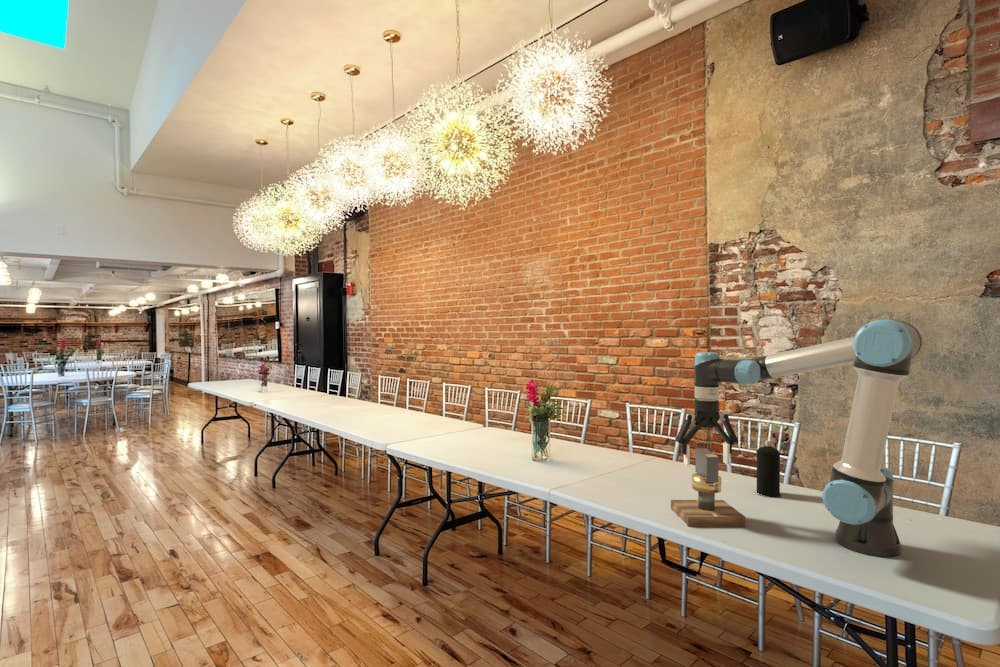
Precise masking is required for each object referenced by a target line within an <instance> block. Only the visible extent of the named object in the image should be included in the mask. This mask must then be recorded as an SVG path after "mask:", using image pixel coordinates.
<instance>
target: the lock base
mask: <svg viewBox="0 0 1000 667" xmlns="http://www.w3.org/2000/svg"><path fill="white" fill-rule="evenodd" d="M697 492H698V494H697V495H698V496H697V497H698V498H696V499H670V509H671V510H672V511H673V513H674V514H675V515H676V516H677V517H678V518H679V517H680V518H681V519H682V520H683V521H684V522H685V523H686V524H687V525H686V524H685V523H684V522H683V523H684V524H685V525H686V526H687V527H746V520H747V519H746V517H747V516H745V515H744V514H743V513H741V512H740V511H739V510H737V509H736V508H734V507H733V506H732V505H730V503H728V502H726V501H725V500H724V499H715V498H716V496H715V494H716V493H704V492H699V491H697ZM680 518H679V519H680ZM681 519H680V520H681ZM682 520H681V521H682Z"/></svg>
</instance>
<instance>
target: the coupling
mask: <svg viewBox="0 0 1000 667" xmlns="http://www.w3.org/2000/svg"><path fill="white" fill-rule="evenodd" d="M694 472H695V473H693V474H692V475H691V488H692V490H693V491H696V492H698V491H699V492H704V493H715V494H718V493H721V492H722V477H721V475H720V476H719V456H718V455H717V454H715V453H713V451H711V450H710V449H708V448H707V447H706V448H704V447H703V448H702V447H695V470H694Z"/></svg>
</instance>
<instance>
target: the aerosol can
mask: <svg viewBox="0 0 1000 667" xmlns="http://www.w3.org/2000/svg"><path fill="white" fill-rule="evenodd" d="M755 452H756V491H757V493H759V494H762V495H765V496H764V497H766V496H769V497H768V498H779V497H781V492H780V490H781V484H780V483H781V480H780V479H781V452H780V451H779V450H778V449H777V448H775V447H773V446H772V440H769V439H768V440H767V439H766V440H765V444H764V446H760V447H759V448H757V449H756V450H755ZM757 493H756V494H757ZM759 494H758V495H759Z"/></svg>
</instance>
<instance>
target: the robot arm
mask: <svg viewBox="0 0 1000 667" xmlns="http://www.w3.org/2000/svg"><path fill="white" fill-rule="evenodd" d="M922 347H923V337H922V334H921V333H920V331H919V330H918V329H917V328H916V327H915V326H914V325H913V324H911V323H910V322H907V321H904V320H898V319H887V318H886V319H884V318H881V319H876V320H873V321H870V322H868V323H866V324H864V325H862V326H861V327H860V328H859V329H858V330H857V332H856V333H855V335H854V336H852V337H846V338H841V339H838V340H833V341H828V342H823V343H820V344H819V343H818V344H814V345H810V346H809V345H808V346H805V347H801V348H800V347H799V348H794V349H790V350H785V351H781V352H778V353H777V352H776V353H773V354H772V353H771V354H767V355H764V356H758V357H753V358H743V359H742V358H741V359H728V358H727V359H724V358H720V353H718V352H711V351H710V352H707V351H705V352H704V351H703V352H701V351H700V352H697V353H696V354H695V356H694V365H693V367H694V398H695V400H694V414H690V413H685V415H684V420H683V423H682V425H681V427H680V429H679V431H678V433H677V435H676V437H675V442H677V443H679V444H680V446H681V447H680V448H681V449H680V453H681V454H682V455H683V464H684V465H686V466H690V464H691V463H690V459H691V458H690V457H691V456H690V453H691V451H690V450H691V446H690V444H689V443H690V441H691V440H692V439H693V438H694V436H695V435H696V434H698V431H699V430H701V429H707V428H709V429H714V430H715V431H716V432H717V433H718V434H719V435H720V437H721V438H722V440H723V441H724V442H723V443H722V463H724V464H725V465H730V464H731V462H730V461H731V460H730V459H731V457H730V455H731V454H733V445H734V444H735V443H737V442H739V440H738V437H737V435H736V433H735V430H734V428H733V427H732V424H731V422H730V418H729V414H727V413H724V412H722V413H719V412H720V401H719V399H720V383H726V384H727V383H728V384H737V385H743V386H745V385H748V386H749V385H750V386H751V385H756V384H757V383H758V382H761V381H765V380H771V379H775V378H780V377H781V378H782V377H787V376H792V375H797V374H804V373H809V372H816V371H820V370H826V369H827V370H828V369H830V368H831V369H832V368H837V367H842V366H849V365H852V367H853V369H854V371H856V373H857V375H858V376H857V382H856V386H855V390H854V396H853V402H852V406H851V410H850V415H849V421H848V424H847V430H846V436H845V439H844V445H843V450H842V455H841V459H840V460H839V461H836V462H834V463H833V465H832V469H831V474H830V478H829V482H828V483H827V484H826V485H825V486H824V488H823V491H822V502H823V506H824V507H825V508H826V509H827V511H828V512H829V514H830V515H831V516H832V517H833V518H835V519H836V520H838V521H839V523H838V526H837V528H836V529H835V541H836V542H837V543H838V544H839V545H840V546H842V547H845V548H847V549H849V550H851V551H854V552H858V553H861V554H863V555H869V556H870V555H871V556H874V557H875V556H876V557H896V556H899V555H900V554H901V553H902V544H901V541H900V538H899V536H898V533H897V530H896V527H895V525H894V482H895V479H894V473H893V471H892V470H891V469H890V468H888V467H885V466H882V463H883V459H884V455H885V450H886V449H885V448H886V444H887V441H888V435H889V431H890V426H891V423H892V422H891V421H892V417H893V412H894V408H895V404H896V398H897V395H898V390H899V385H900V382H901V381H902V380H905V379H906V378H908V377H909V376H910V375H909V374H910V370H911V366H912V362H913V359H914V358H915V357H917V356H918V354H919V353H920V352H921V349H922ZM693 420H694V423H692V421H693ZM719 421H721V422H722V425H723V426H724V428H722V426H721V425H720V424H719ZM691 424H692V426H691ZM689 428H690V429H689ZM724 429H725V430H724Z"/></svg>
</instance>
